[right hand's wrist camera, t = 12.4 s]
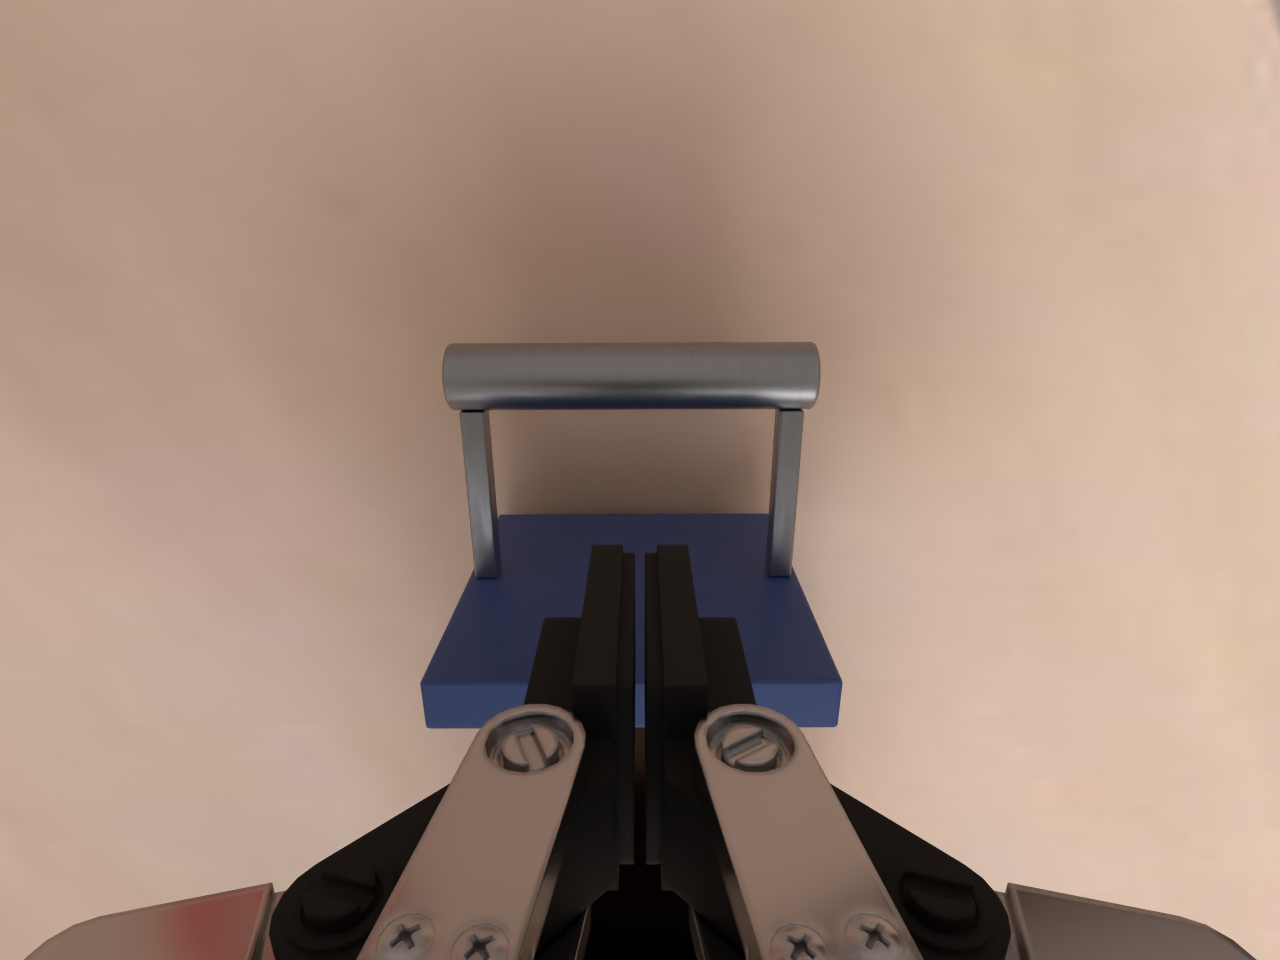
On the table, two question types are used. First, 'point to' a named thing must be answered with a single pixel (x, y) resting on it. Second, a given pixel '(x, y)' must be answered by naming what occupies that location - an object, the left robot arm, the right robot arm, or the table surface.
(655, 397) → the drawer
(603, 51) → the table surface
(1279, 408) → the table surface
